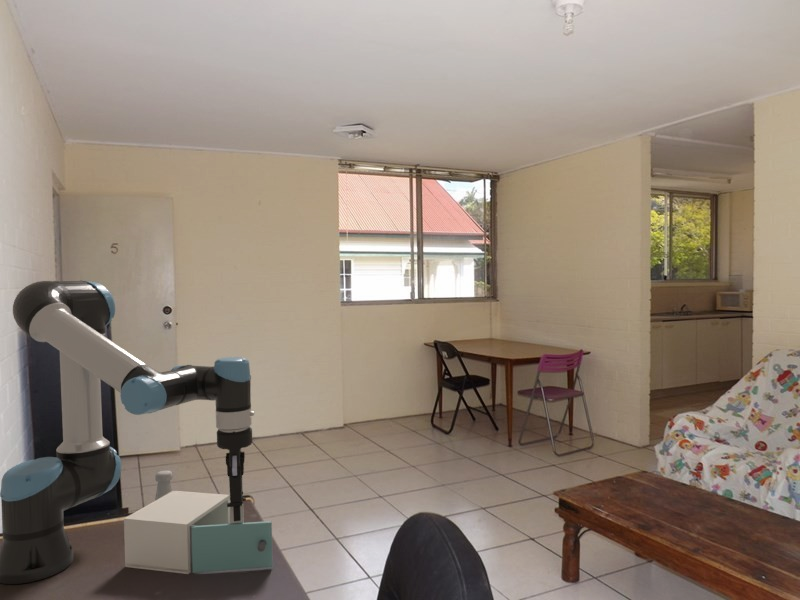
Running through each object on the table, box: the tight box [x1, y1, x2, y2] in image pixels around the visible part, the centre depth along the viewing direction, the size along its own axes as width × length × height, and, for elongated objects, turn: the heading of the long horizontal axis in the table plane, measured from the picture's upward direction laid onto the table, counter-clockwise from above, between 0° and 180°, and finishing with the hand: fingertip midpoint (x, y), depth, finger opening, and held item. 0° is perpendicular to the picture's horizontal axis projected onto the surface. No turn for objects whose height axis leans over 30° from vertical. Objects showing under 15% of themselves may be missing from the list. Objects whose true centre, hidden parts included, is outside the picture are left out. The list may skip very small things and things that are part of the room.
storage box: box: [123, 490, 231, 575], centre depth 137 cm, size 16×18×11 cm
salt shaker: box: [154, 470, 173, 501], centre depth 156 cm, size 6×6×13 cm
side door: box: [190, 520, 273, 574], centre depth 126 cm, size 4×18×10 cm, turn 97°
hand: (237, 532), depth 128 cm, fingers closed
